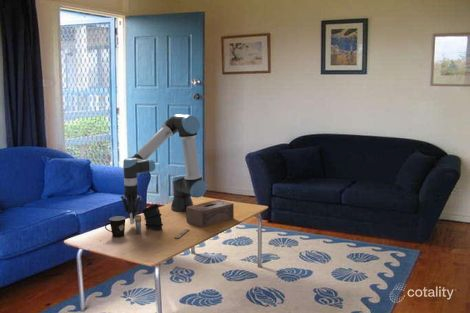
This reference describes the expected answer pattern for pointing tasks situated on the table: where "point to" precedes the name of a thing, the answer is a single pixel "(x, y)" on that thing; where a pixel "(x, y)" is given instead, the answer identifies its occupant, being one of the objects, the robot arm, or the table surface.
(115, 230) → the coffee mug
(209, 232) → the table surface
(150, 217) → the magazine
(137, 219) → the metal flashlight
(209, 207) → the tissue box cover
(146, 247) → the table surface
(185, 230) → the strip
